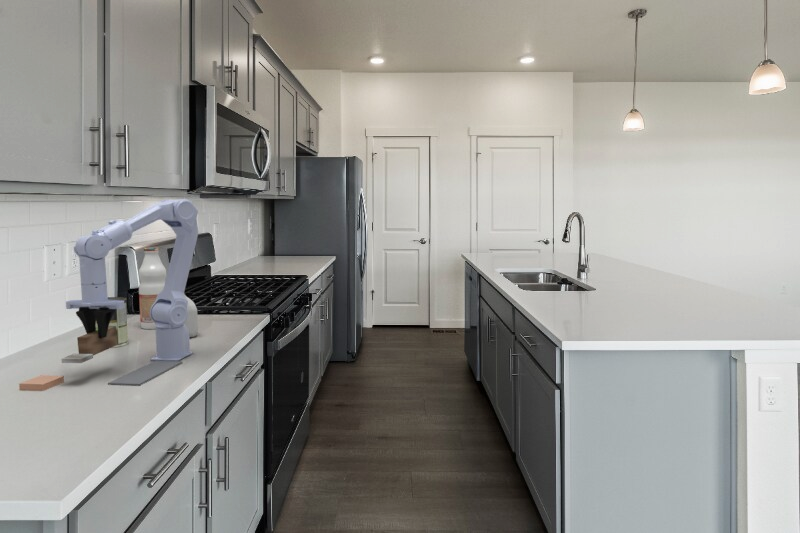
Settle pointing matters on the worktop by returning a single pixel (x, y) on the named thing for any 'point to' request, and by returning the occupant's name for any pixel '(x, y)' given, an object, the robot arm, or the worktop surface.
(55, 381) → the tile
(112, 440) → the worktop surface
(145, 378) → the mat
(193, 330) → the soap bottle
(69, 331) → the worktop surface
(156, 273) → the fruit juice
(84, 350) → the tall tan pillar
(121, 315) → the coffee can
